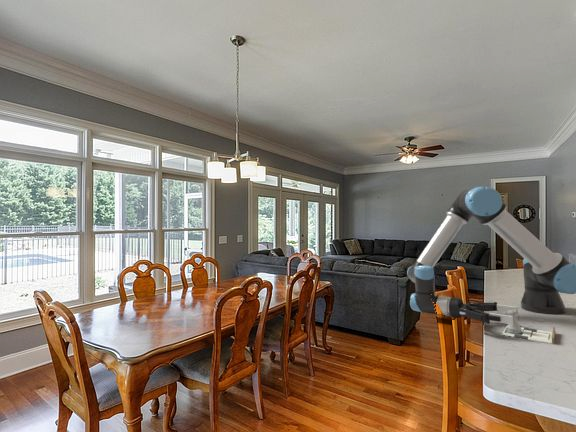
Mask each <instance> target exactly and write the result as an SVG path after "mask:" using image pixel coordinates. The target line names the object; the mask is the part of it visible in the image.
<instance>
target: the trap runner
mask: <svg viewBox="0 0 576 432" xmlns="http://www.w3.org/2000/svg"><path fill="white" fill-rule="evenodd" d="M507 326H508V324H506V326H505V328H504V330H503V332H502V334H501V336H502V335H505V336H504V337H508V336H511V337H510V338H514V337H516V338H515V339H520V338H521V339H522V340H527V341H532V342H533V341H534V342H538V343H539V342H540V343H546V344H552V345H555V340H556V327H552V331H548V330H541V329H534V328H528V327H521V326H520V327H521V331H522V334H513V333H509V332H506V331H507Z"/></svg>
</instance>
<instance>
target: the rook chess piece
mask: <svg viewBox="0 0 576 432" xmlns="http://www.w3.org/2000/svg"><path fill="white" fill-rule="evenodd" d="M507 314H508V315H509V316H513V325H512V324H507V325H508V326H507V325H506V326H507V329H506V331H507V333H509V332H510V333H509V334H513V333H515V335H521V333H523V330H521V326H520V324H519V321H518V320H519V316H518V315H519V311H518V312H517V310H516V309H514V310H513V309H512V310H511V309H509V311H508V313H507ZM517 314H518V315H517Z"/></svg>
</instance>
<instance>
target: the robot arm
mask: <svg viewBox="0 0 576 432" xmlns="http://www.w3.org/2000/svg"><path fill="white" fill-rule="evenodd" d="M507 209H508V207H507V204H506V203H504V201H503V198H502V195H501V194H500V193H499V191H498V190H496V189H495V188H492V187H490V186H476V187H473V188H470V189H465V190H464V191H461V192H460V193H459V194H458V195H457V196H456V197H455V199H454V200H453V202H452V203H451V205H450V206H449V208H448V209H447V211H446V212H445V213H446V216H445V218H444V220H443V221H442V223H441V224H440V226H439V227H438V228H437V230H436V231H435V233H434V234H433V236H432V237H431V239H429V240H430V241H429V242H427V244H426V246H425V247H424V249H423V250H422V252H421V253H420V255H419V256H418V258H417V259H416V261H415V263H413V265H411V266H409V267H408V268H407V270H406V275H407V277H408V279H409V280H410V281H411V282H412V283H414V285H415V292H414V293H411V294H410V298H409V299H410V300H409V305H410V308H411V310H413V311H414V312H415V311H416V312H419V313H422V314H432V315H438V314H437V312H436V313H435V311H436V309H435V310H434V308H435V307H436V305H435V306H433V305H434V304H436V302H437V305H439V307H440V309H441V311H442V313H443V314H444V315H445V317H452V318H458V319H461V318H463V317H464V318H468V319H472V320H475V321H478V322H481V323H485V324H491V322H494V323H500V324H506V325H508V324H512V325H513V316H509V313H508V311H509V309H511V310H512V309H513V310H514V309H516V310H517V312H518V314H517V316H518V315H519V310H518V309H519V307H518V306H514V305H512V306H511V305H504V304H498V302H496V301H494V302H479V301H478V302H475V301H474V302H473V301H468V302H467V303H464V301H463V299H462V298H460V297H453V296H452V297H451V296H444V295H443V296H442V295H436V291H435V290H436V288H435V271H434V267H435V265H436V264H437V263H438V261H439V260H440V258H441V257H442V255H443V254H444V252H445V251H446V250H447V248H448V247H449V245H451V242H452V241H453V240H454V239H455V237H456V235H457V234H458V232H459V231H460V229H462V227H463V226H464V225H466V224H468V223H469V220H471V219H472V218H474V219H475V220H476V221H477V222H478V223H480V224H481V226H482V225H483V226H484V225H485V226H489V228H490V229H491V230H492V231H494V232H495V233H496V234H497V235H498V236H499V237H500V238H501V239H503V240H504V241H505V242H506V243H507V244H508V245H509V246H510V247H511V248H512V249H513V250H515V251H516V252H517V253H518V254H519V255H520V256H521V257H522V258H523V260H522V267H523V269H522V270H523V282H524V292H523V295H522V296H521V301H520V308H521V309H524V310H526V311H529V312H535V313H539V314H551V315H553V314H557V315H558V314H559V315H560V314H564V313H565V312H566V306H565V303H564V300H563V299H562V297H561V294H567V295H576V263H572V262H570V261H569V260H568V259H567V258H566V257H565V256H564V255H562V254H561V253H559V252H553V251H552V250H550V249H549V248H548V247H547V246H546V245H545V244H544V243H542V242H541V240H540V239H538V238H537V237H536V235H534V234H533V233H532V232H530V231H529V230H528V229H527V228H526V227H525V226H524V225H522V223H520V222H519V221H518V219H516V218H515V217H514V216H513V215H512V214H511V213H510V212H508V211H507ZM431 294H432V295H431ZM431 299H432V300H431ZM432 302H434V303H432ZM437 307H438V306H437ZM487 312H490V313H487ZM492 312H497V313H492ZM499 313H500V314H499ZM501 313H502V314H501ZM504 313H505V314H504ZM507 314H508V315H507Z"/></svg>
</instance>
